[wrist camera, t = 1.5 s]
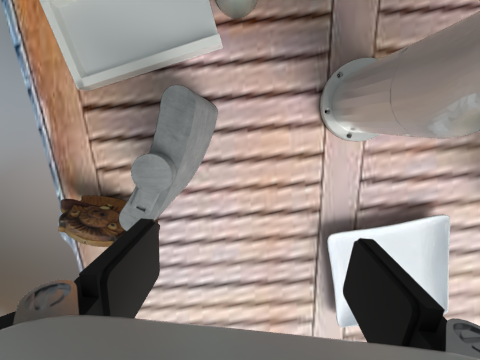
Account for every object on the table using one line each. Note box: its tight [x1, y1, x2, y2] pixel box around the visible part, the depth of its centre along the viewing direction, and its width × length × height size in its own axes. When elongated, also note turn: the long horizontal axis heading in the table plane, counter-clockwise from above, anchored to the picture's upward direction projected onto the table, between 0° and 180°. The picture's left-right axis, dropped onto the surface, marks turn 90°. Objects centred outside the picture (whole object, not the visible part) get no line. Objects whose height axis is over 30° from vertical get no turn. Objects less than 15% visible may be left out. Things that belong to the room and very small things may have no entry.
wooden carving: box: [58, 195, 160, 247], centre depth 37 cm, size 16×5×10 cm, turn 77°
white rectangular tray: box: [39, 0, 223, 91], centre depth 33 cm, size 23×13×2 cm, turn 106°
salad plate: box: [327, 214, 450, 327], centre depth 42 cm, size 21×21×3 cm
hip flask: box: [119, 85, 218, 231], centre depth 29 cm, size 16×4×20 cm, turn 155°
